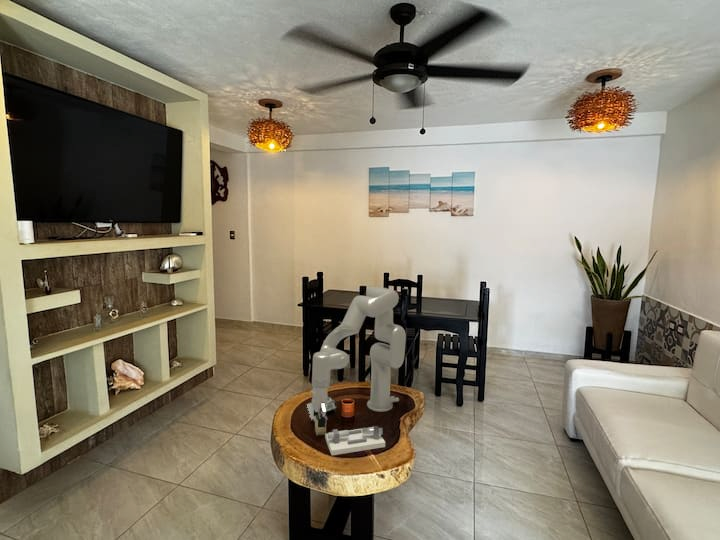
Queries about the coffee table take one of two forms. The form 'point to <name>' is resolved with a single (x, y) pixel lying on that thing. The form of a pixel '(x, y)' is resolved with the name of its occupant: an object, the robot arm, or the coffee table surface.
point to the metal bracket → (329, 407)
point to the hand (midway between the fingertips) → (319, 421)
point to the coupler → (321, 429)
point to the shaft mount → (351, 441)
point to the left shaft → (373, 431)
